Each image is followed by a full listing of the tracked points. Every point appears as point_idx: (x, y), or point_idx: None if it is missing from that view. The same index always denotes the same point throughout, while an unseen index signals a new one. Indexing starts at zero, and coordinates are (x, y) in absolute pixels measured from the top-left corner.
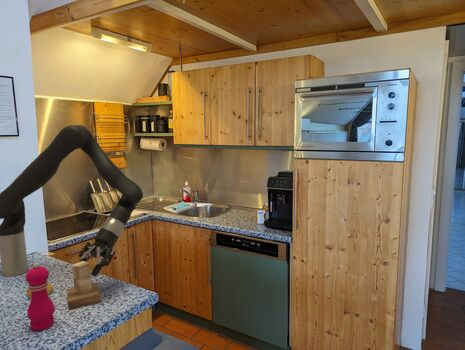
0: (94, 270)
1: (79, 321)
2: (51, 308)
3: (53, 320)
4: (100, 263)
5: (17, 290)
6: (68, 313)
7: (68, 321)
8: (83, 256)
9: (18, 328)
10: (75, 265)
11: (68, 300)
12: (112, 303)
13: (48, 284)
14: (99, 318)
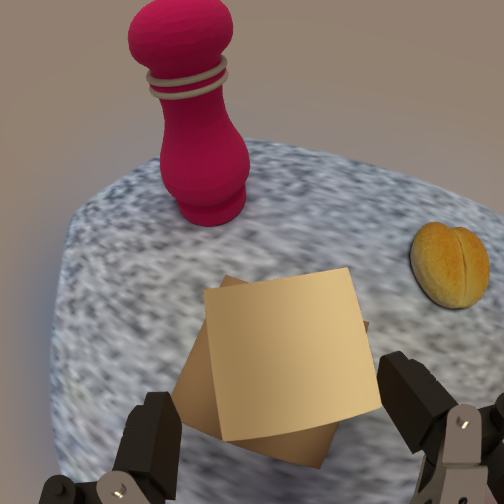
0: (143, 422)
1: (123, 278)
2: (163, 175)
3: (188, 217)
4: (103, 487)
5: (487, 230)
6: (206, 278)
7: (155, 255)
8: (461, 436)
9: (252, 159)
10: (302, 285)
11: (235, 280)
12: None
13: (468, 288)
14: (82, 328)
